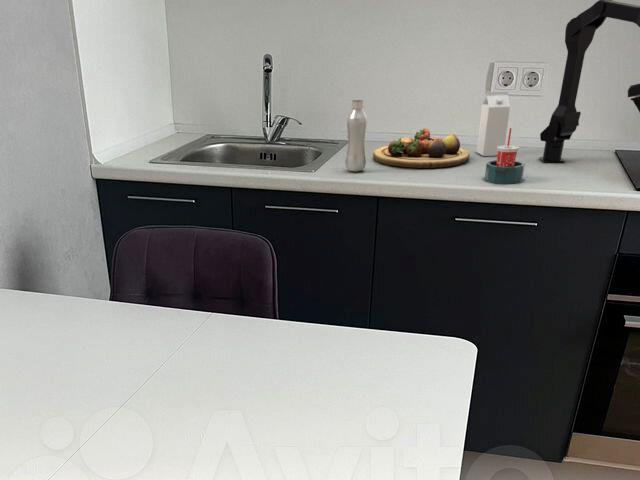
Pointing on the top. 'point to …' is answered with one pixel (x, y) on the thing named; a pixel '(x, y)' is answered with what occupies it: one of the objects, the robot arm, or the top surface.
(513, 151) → the beverage cup
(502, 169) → the pot
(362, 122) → the plastic bottle
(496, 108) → the milk carton
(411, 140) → the wooden plate
